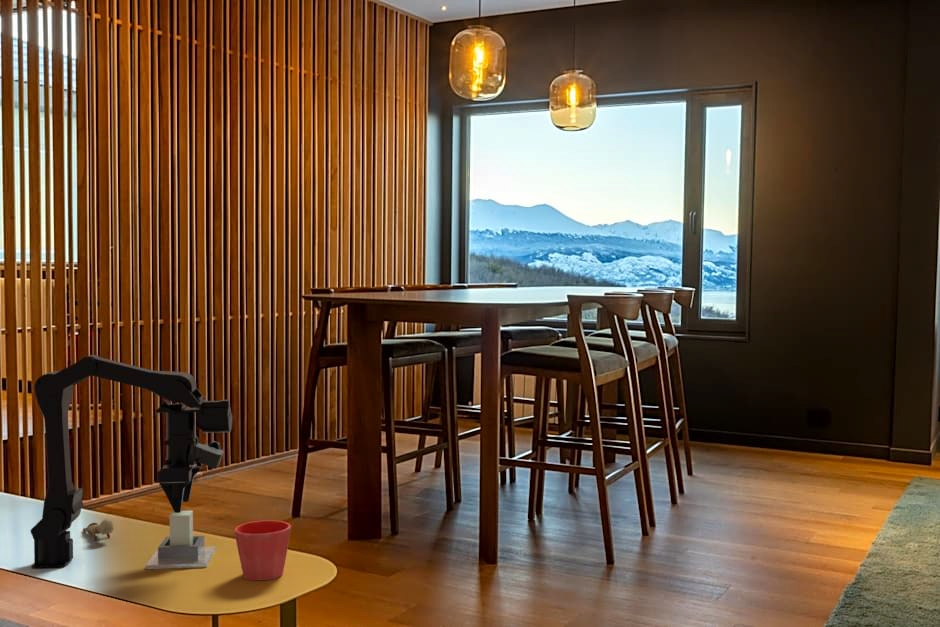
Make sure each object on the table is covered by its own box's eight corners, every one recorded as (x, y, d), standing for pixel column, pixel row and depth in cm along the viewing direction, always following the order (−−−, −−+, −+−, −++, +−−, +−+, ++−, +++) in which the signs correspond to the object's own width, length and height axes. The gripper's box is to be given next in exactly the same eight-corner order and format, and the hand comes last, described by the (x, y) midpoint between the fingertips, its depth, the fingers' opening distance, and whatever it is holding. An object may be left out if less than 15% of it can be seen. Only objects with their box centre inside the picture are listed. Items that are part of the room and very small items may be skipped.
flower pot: (235, 568, 189) (234, 521, 189) (289, 564, 192) (289, 518, 192) (234, 585, 179) (234, 535, 179) (292, 581, 182) (291, 532, 181)
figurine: (80, 541, 216) (102, 540, 205) (78, 521, 216) (101, 519, 205) (96, 538, 218) (119, 537, 207) (94, 519, 219) (117, 517, 208)
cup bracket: (145, 569, 189) (145, 550, 189) (158, 551, 201) (158, 534, 200) (206, 567, 190) (206, 548, 190) (215, 549, 202) (215, 532, 202)
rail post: (170, 558, 193) (169, 515, 193) (173, 553, 197) (173, 511, 197) (189, 558, 194) (189, 515, 193) (193, 552, 198) (192, 510, 197)
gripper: (213, 440, 186) (214, 517, 187) (226, 425, 204) (227, 495, 205) (156, 441, 185) (157, 519, 185) (174, 426, 203) (175, 497, 204)
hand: (181, 507), depth 195 cm, fingers open, 9 cm apart
